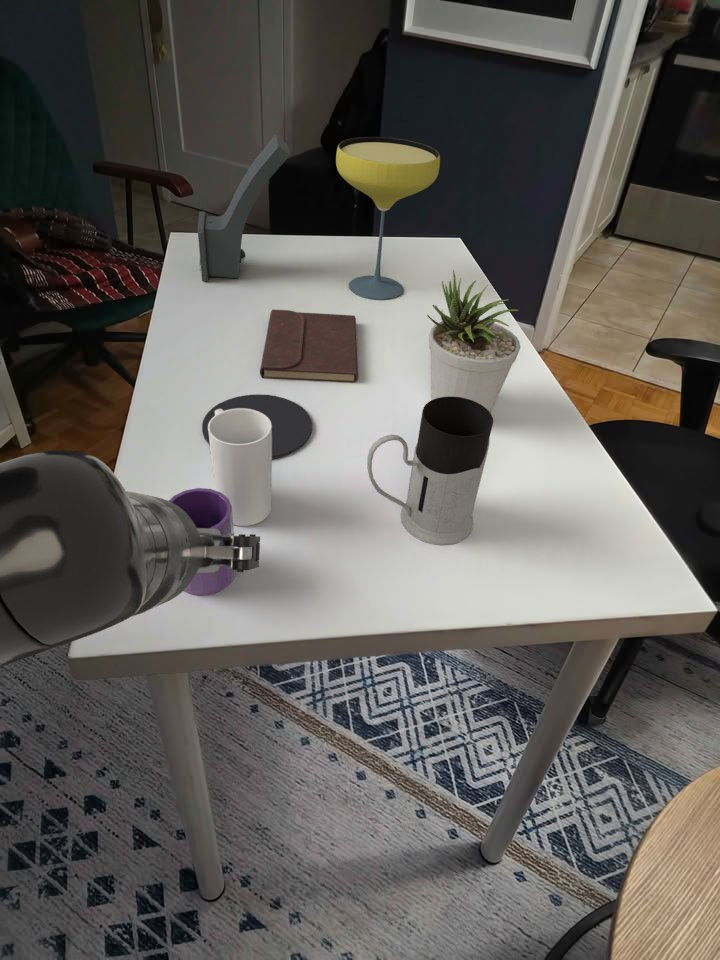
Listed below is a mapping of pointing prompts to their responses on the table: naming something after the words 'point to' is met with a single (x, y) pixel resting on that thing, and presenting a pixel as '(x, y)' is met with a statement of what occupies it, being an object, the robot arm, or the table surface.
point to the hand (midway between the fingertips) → (182, 547)
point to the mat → (272, 420)
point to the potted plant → (470, 350)
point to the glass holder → (443, 469)
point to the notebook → (310, 347)
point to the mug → (243, 462)
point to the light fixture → (236, 216)
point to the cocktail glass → (385, 189)
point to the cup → (213, 514)
